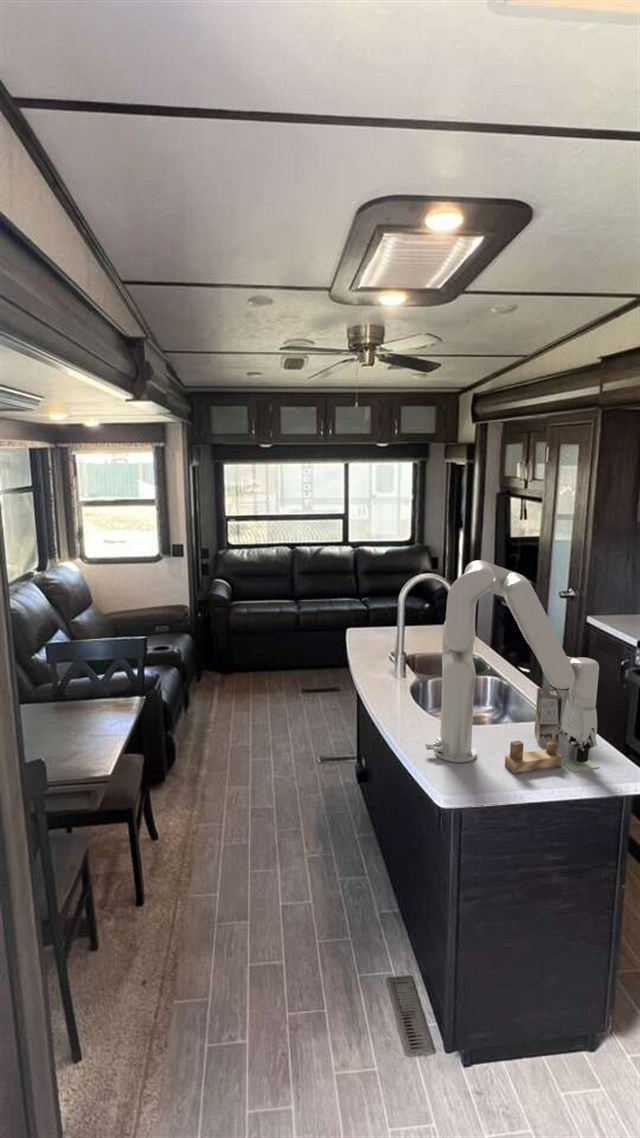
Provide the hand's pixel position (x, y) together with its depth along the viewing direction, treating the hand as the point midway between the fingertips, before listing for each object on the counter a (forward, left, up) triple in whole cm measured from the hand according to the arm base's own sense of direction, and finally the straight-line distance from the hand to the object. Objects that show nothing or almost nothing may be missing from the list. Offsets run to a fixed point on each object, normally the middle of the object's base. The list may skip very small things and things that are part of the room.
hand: (577, 757), depth 181 cm
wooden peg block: (-14, +2, -2) cm, 14 cm away
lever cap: (0, 0, 0) cm, 0 cm away
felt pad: (0, 0, -2) cm, 2 cm away
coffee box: (+1, +16, -2) cm, 16 cm away
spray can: (+10, +22, -2) cm, 24 cm away
